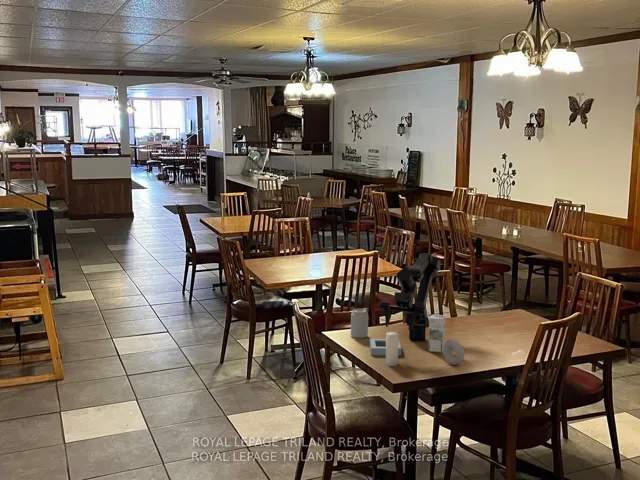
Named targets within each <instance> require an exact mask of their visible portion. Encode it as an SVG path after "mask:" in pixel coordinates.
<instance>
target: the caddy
mask: <svg viewBox="0 0 640 480" xmlns="http://www.w3.org/2000/svg"><path fill="white" fill-rule="evenodd" d="M369 349H370V356H384V357H386V338H369ZM401 356H402V345H401V343H400V341H399V342H398V357H401Z"/></svg>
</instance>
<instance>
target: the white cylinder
mask: <svg viewBox="0 0 640 480" xmlns="http://www.w3.org/2000/svg"><path fill="white" fill-rule="evenodd" d="M399 337H400V335H399V333H398V332H396V331H388V332H385V339H386V356H385V365H386V366H389V367H396V366H398V365H399V356H398V342H400V339H399Z"/></svg>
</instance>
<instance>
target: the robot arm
mask: <svg viewBox="0 0 640 480" xmlns="http://www.w3.org/2000/svg"><path fill="white" fill-rule="evenodd" d="M440 269H441V262H440V260H439V259H438V258H436V257H435V256H433V254H431V253H425V252H422V253H420V254H419V257H418V258H417V259H416V261H415V262H413V264H412V265H408V266H404V267H403V269H400V270H398V272H397V273H396V279H397V281H398V284H399V285H400V287H401V290H400V292H398V291H395V292H394V294H393V296H394V297H393V300H394V301H395V302H394V304H396V305H392V304H391V302H390V301H386V300H381V301H380V302H379V304H378V308H379V311H380V312H381V313H382V314H383V315H384V317H385V318H384V319H385V327H386V328H388V327H389V324H390V321H391V318H392V311H394V312H400V313H406V316H405V317H406V318H405V319H406V326H407V327H408V339H409V340H410V342H426V341H427V340H426V331H427V329H426V328H429V319H430V317H429V316H428V311H427V309H426V305H427V301H428V296H429V293H430V288H431V285H432V281H433V279H434V278H435V277H436V276H437V275H438V274H439V270H440ZM417 283H419V285H418V286H417ZM417 287H418V288H417ZM415 295H416V297H415ZM414 299H415V301H414Z"/></svg>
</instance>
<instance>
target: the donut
mask: <svg viewBox="0 0 640 480" xmlns="http://www.w3.org/2000/svg"><path fill="white" fill-rule="evenodd" d="M453 351H454V354H455V355H454V354H453ZM442 354H443V356H444V358H445V360H446V361H447V363H448V364H450V365H453V366H457V365H460V364H461V363H462V362H463V360H464V358H465V350H464V348H463V345H462V344H461V343H460V341H458V339H457V340H456V339H453V338H450V339H447V340H445V341H444V346H443V352H442Z"/></svg>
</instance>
